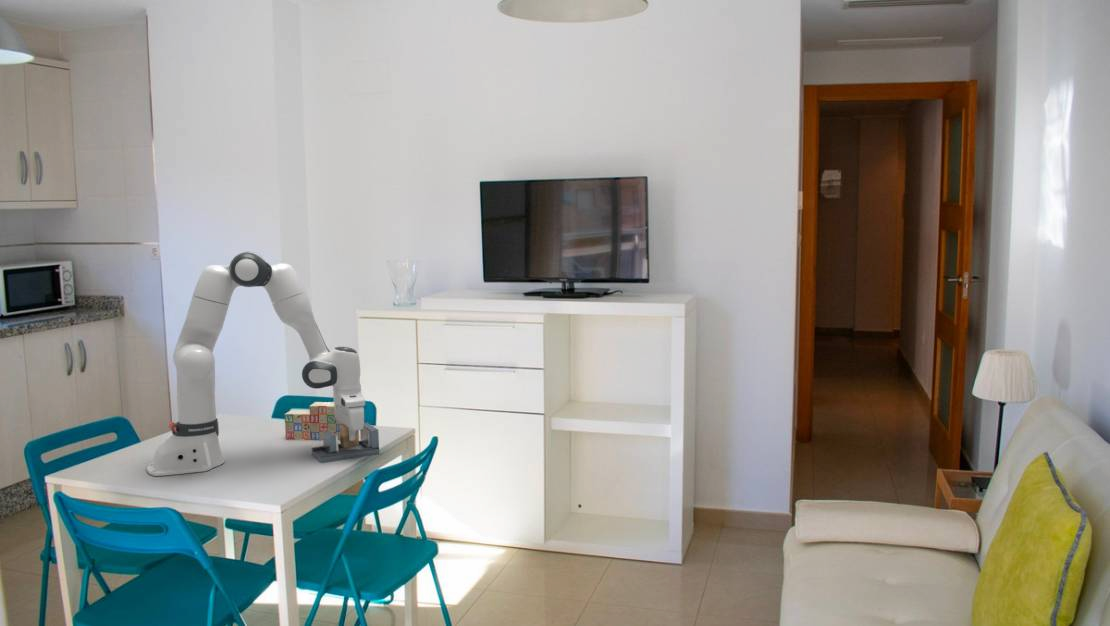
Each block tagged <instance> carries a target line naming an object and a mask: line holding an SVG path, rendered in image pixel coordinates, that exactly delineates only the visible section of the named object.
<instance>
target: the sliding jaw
mask: <svg viewBox="0 0 1110 626" xmlns="http://www.w3.org/2000/svg"><path fill="white" fill-rule="evenodd" d="M322 443H323V446H324V450H326V451H327V452H328V453H337V452H338V444H339V440H338V436H337V435H336V434H334V433H333V432H332V431H329V430H325V431H323V440H322Z"/></svg>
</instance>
